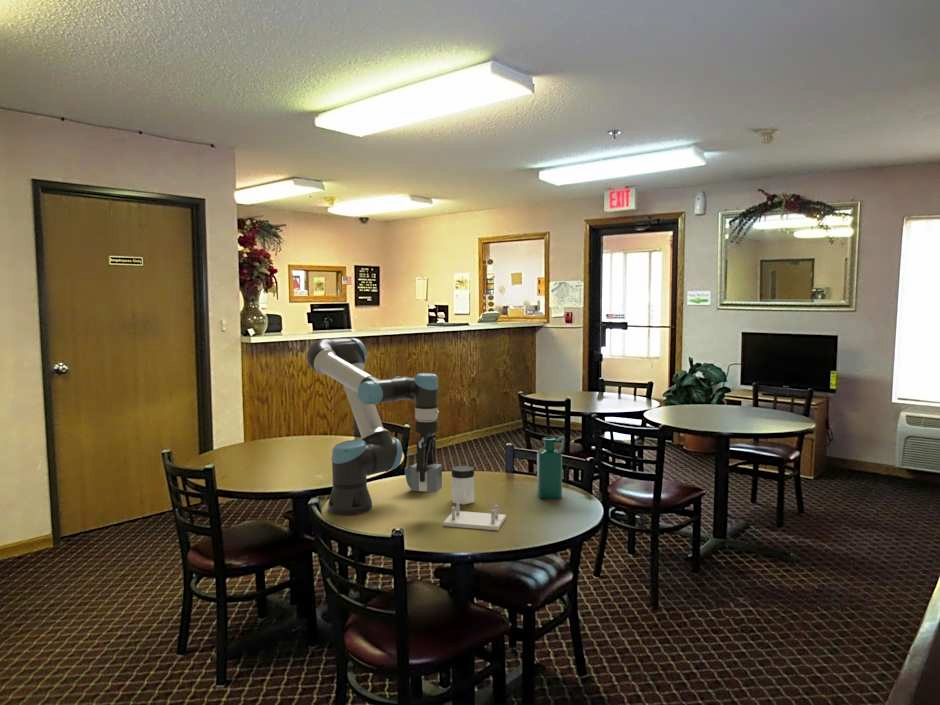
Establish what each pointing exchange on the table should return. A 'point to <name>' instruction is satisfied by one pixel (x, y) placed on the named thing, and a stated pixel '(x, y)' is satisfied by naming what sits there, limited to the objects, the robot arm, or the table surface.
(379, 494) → the table surface
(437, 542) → the table surface
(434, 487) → the block
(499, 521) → the pin tray
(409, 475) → the flower pot
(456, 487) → the jar
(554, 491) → the pitcher
